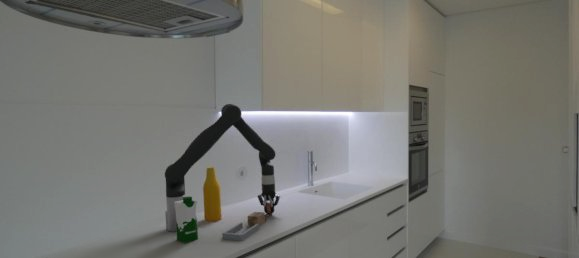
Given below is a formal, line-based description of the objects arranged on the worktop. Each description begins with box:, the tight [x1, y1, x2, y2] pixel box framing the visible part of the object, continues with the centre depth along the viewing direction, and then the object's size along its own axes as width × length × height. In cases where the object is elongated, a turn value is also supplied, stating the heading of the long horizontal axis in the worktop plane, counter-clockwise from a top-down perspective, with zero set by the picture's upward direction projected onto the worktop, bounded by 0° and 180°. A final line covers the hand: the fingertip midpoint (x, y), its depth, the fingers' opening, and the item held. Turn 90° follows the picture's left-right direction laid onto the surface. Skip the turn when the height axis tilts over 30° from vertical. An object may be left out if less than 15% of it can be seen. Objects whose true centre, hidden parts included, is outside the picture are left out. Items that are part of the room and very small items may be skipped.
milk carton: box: [174, 196, 199, 244], centre depth 165 cm, size 9×9×20 cm
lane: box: [221, 222, 260, 241], centre depth 171 cm, size 10×17×2 cm, turn 159°
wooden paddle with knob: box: [247, 201, 273, 227], centre depth 193 cm, size 6×23×7 cm, turn 160°
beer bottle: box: [202, 166, 222, 223], centre depth 196 cm, size 9×9×29 cm
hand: (269, 212), depth 202 cm, fingers closed on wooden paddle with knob, 3 cm apart
